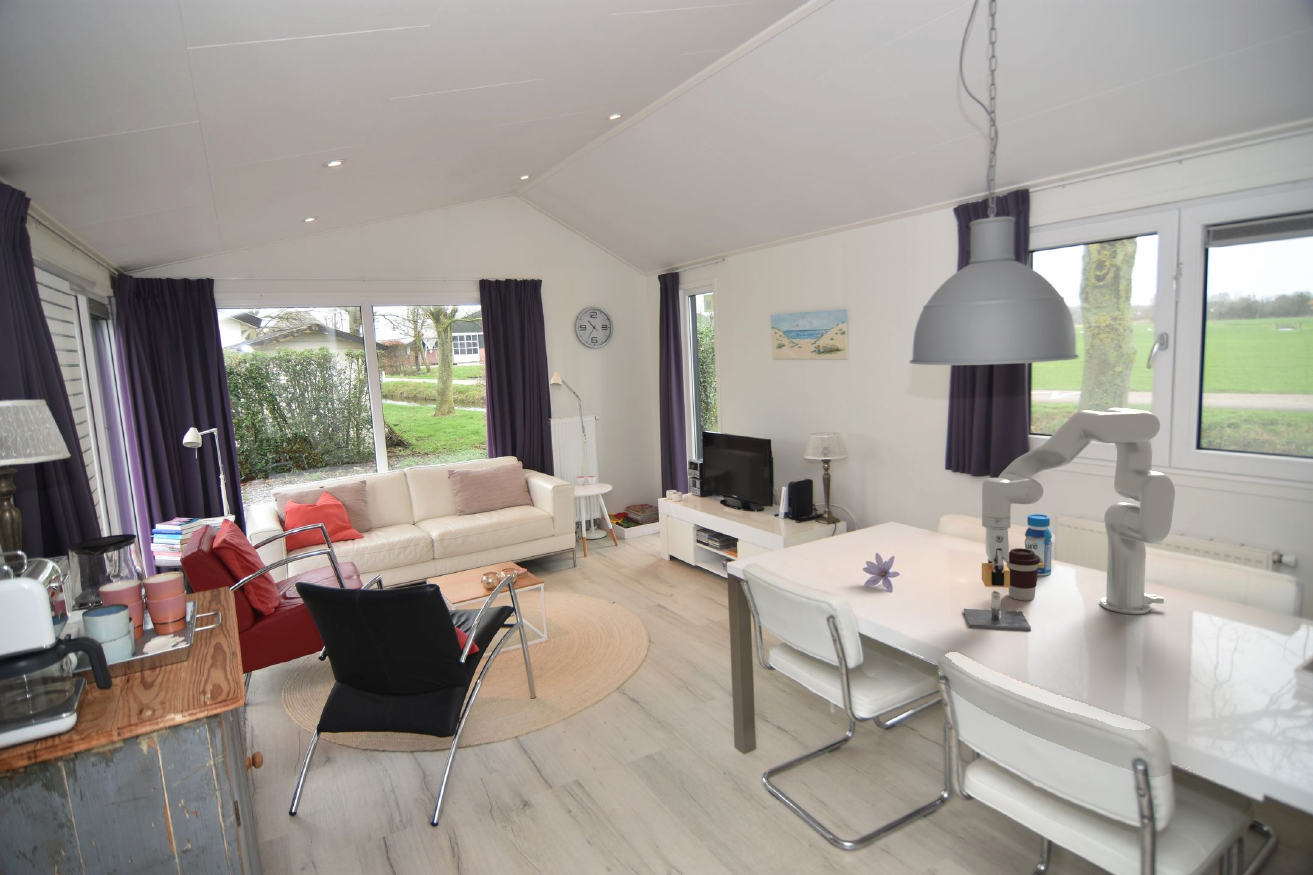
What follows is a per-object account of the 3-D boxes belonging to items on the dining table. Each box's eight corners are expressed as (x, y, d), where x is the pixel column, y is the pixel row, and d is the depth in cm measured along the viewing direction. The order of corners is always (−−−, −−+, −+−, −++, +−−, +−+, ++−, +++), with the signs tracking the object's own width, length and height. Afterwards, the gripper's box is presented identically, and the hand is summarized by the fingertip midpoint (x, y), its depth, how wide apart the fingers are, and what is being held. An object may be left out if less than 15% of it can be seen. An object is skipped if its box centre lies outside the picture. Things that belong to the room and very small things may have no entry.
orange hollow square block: (1005, 580, 207) (1005, 563, 207) (1009, 587, 201) (1009, 570, 200) (981, 579, 209) (981, 562, 208) (985, 586, 203) (985, 569, 202)
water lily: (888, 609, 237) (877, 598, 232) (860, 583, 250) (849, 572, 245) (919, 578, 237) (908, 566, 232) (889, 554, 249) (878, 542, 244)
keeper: (1021, 614, 210) (1021, 584, 209) (1030, 630, 199) (1031, 599, 197) (963, 611, 215) (963, 582, 213) (969, 627, 203) (969, 596, 202)
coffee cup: (1044, 602, 218) (1044, 556, 216) (1009, 602, 220) (1009, 555, 218) (1033, 591, 227) (1034, 546, 225) (1000, 591, 229) (1000, 546, 227)
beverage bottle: (1056, 575, 240) (1057, 518, 237) (1031, 576, 240) (1032, 519, 238) (1043, 567, 248) (1044, 512, 246) (1019, 569, 249) (1020, 513, 246)
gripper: (1016, 529, 193) (1015, 592, 196) (1004, 514, 210) (1003, 572, 212) (987, 528, 195) (986, 590, 198) (977, 513, 212) (976, 571, 214)
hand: (995, 580), depth 205 cm, fingers closed on orange hollow square block, 6 cm apart
